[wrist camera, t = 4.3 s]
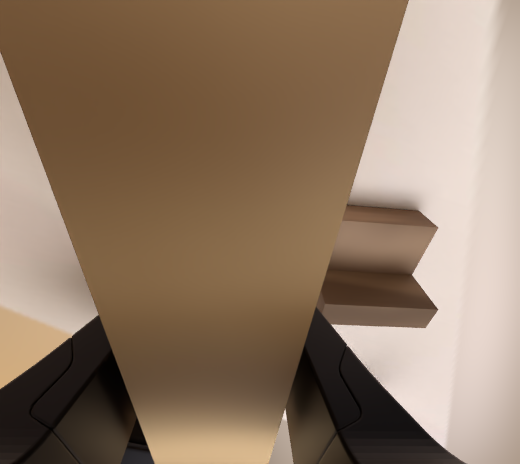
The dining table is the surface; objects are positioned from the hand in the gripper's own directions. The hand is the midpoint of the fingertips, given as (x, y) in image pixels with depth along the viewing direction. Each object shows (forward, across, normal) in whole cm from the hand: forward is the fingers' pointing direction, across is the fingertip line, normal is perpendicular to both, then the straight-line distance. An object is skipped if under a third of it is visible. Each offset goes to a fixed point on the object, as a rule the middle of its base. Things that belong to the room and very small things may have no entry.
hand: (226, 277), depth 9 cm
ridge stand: (+11, -10, +8) cm, 17 cm away
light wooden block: (+1, 0, 0) cm, 1 cm away
